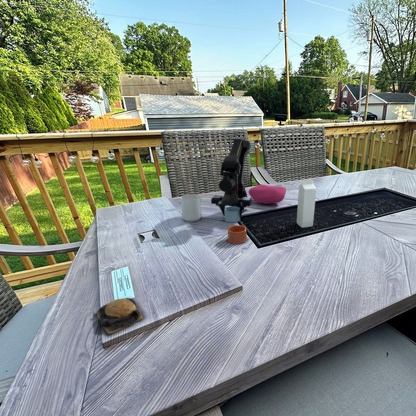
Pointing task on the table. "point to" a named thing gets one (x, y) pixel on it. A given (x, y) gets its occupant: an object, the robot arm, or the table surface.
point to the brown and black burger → (118, 315)
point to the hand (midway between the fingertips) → (232, 217)
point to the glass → (232, 214)
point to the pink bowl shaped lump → (267, 194)
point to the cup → (237, 234)
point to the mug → (191, 207)
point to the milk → (306, 203)
